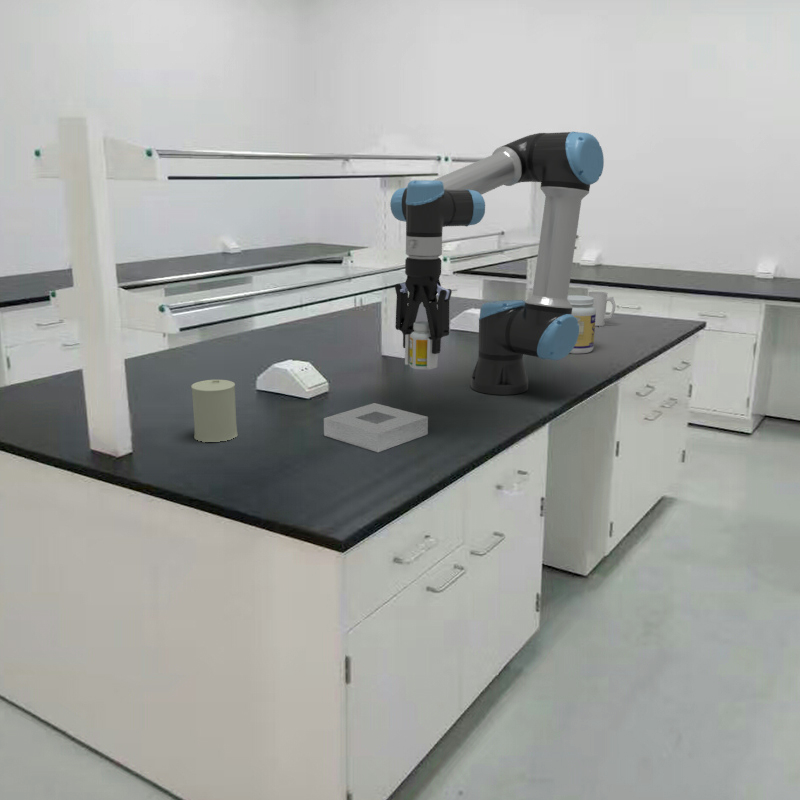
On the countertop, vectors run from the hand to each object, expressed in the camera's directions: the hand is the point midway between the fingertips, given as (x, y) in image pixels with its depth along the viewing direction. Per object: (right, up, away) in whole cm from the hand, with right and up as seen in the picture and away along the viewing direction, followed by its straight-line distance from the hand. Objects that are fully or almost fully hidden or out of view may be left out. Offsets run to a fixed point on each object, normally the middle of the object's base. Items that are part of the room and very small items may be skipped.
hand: (421, 365), depth 179 cm
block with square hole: (-10, -15, +3) cm, 18 cm away
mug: (+69, +20, +126) cm, 145 cm away
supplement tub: (+51, +8, +86) cm, 100 cm away
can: (-44, -15, +1) cm, 47 cm away
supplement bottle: (0, 0, 0) cm, 1 cm away
